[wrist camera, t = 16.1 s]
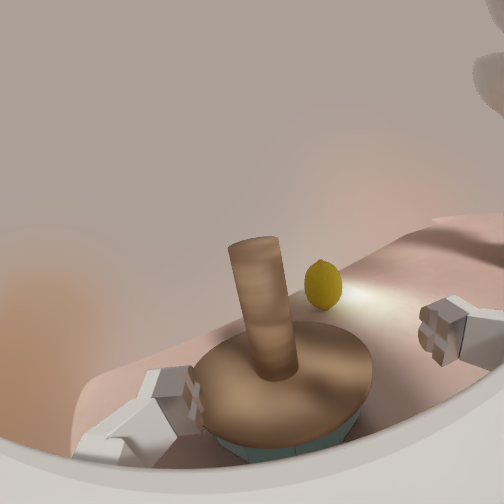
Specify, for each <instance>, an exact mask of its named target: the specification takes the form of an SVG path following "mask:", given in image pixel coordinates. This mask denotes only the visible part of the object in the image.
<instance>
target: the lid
mask: <svg viewBox="0 0 504 504" xmlns="http://www.w3.org/2000/svg"><path fill="white" fill-rule="evenodd" d="M228 252H229V256H230V261H231V265H232V270H233V274H234V278H235V283H236V287H237V292H238V296H239V300H240V304H241V309H242V313H243V317H244V322H245V326H246V330H247V331H246V332H243V333H241V334H238V335H236V336H234V337H231V338H229V339H228V340H226V341H224V342H222V343H220V344H219V345H217V346H216V347H214V348H213V349H211V350H210V351H209V352H208V353H207V354H205V355H204V356H203V357H202V358H201V359H200V360H199V362H198V363H197V364H196V365H195V367H194V368H193V369H194V371H195V373H196V379H195V382H197V383H198V384H200V385H201V388H202V391H203V394H204V400H205V409H204V411H203V412H202V413H201V416H202V418H203V427H204V428H205V429H207V430H208V431H209V432H211V433H212V434H213V435H215V436H217V437H219V438H220V439H222V440H225V441H227V442H230V443H232V444H235V445H240V446H244V447H249V448H258V449H279V448H286V447H292V446H297V445H301V444H305V443H308V442H311V441H314V440H316V439H319V438H321V437H323V436H325V435H327V434H329V433H331V432H332V431H334V430H336V429H338V428H339V427H340V426H342V425H343V424H344V423H346V422H347V421H348V420H349V419H350V418H351V417H352V416H353V415H354V414H355V413H356V412H357V411H358V410H359V409H360V407H361V406H362V404H363V403H364V402H365V400H366V398H367V396H368V394H369V391H370V387H371V384H372V371H373V365H372V358H371V355H370V353H369V351H368V349H367V347H366V346H365V345H364V343H363V342H362V341H361V340H360V339H358V338H357V337H356V336H355V335H353V334H351V333H350V332H348V331H346V330H343V329H341V328H338V327H335V326H332V325H327V324H322V323H314V322H292V317H291V311H290V305H289V299H288V292H287V286H286V280H285V274H284V269H283V263H282V257H281V252H280V246H279V240H278V238H277V237H272V236H266V237H257V238H251V239H247V240H243V241H240V242H237V243H234V244H232V245H231V246H229V247H228Z"/></svg>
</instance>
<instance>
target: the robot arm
mask: <svg viewBox="0 0 504 504" xmlns="http://www.w3.org/2000/svg"><path fill="white" fill-rule="evenodd" d="M486 3H487V6H488V9H489V11H490V14H491V17H492V19H493V21H494V22H495V24H496V25H497V26H498V28H499V29H500V30H501V31H502V32H504V0H486ZM473 80H474V84H475V87H476V90H477V92H478V93H479V95H480V97H481V98H482V100H483V101H484V102H485V103H486V104H487V105H488V106H489V107H490V108H492V109H493V110H495V111H496V112H497V113H499V114H500V115H501V116H502V117H503V118H504V53H492V54H489V55H485V56H482V57H479V58H477V59H476V60H475V62H474V66H473ZM419 318H420V320H421V321H422V323H421V325H420V327H419V330H418V338H419V342H420V344H421V346H422V348H423V349H424V350H425V351H427V352H431V353H432V358H433V359H434V360H435V361H436V362H437V363H438V364H439V365H440V366H441V367H443V366H445V365H447V364H449V363H451V362H453V361H455V360H457V359H459V360H461V361H464V362H467V363H469V364H472V365H475V366H478V367H481V368H483V369H486V370H489V371H491V372H490V373H488V374H487V375H486V376H484V377H483V378H481V379H480V380H478V381H477V382H475V383H473V384H472V385H470V386H469V387H467V388H465V389H464V390H462V391H461V392H459V393H457V394H455V395H454V396H452V397H450V398H448V399H447V400H445V401H443V402H441V403H439V404H437V405H435V406H434V407H432V408H430V409H428V410H426V411H424V412H422V413H420V414H417V415H415V416H413V417H411V418H409V419H407V420H404V421H402V422H400V423H398V424H395V425H393V426H390V427H388V428H386V429H383V430H381V431H378V432H375V433H373V434H370V435H367V436H364V437H362V438H359V439H356V440H353V441H350V442H346V443H343V444H340V445H337V446H333V447H330V448H326V449H323V450H319V451H315V452H311V453H307V454H302V455H298V456H293V457H289V458H284V459H278V460H273V461H267V462H261V463H254V464H246V465H238V466H228V467H216V468H197V469H158V468H152V467H153V466H154V465H155V463H156V462H157V461H158V460H159V459H160V458H161V456H162V455H163V454H164V453H165V452H166V451H167V449H168V448H169V447H170V446H171V445H172V443H173V442H174V441H175V440H176V439H177V436H185V435H197V434H202V428H203V418H202V416H201V413H202V412H203V411H204V409H205V400H204V394H203V391H202V388H201V385H200V384H198V383H197V382H195V379H196V373H195V371H194V369H193V367H192V366H191V365H188V366H179V367H168V368H158V369H150V370H148V371H147V373H146V375H145V378H144V380H143V383H142V385H141V387H140V390H139V392H138V395H137V397H136V399H131V400H130V401H129V402H127V403H126V404H125V405H123V406H122V407H121V408H119V409H118V410H116V411H115V412H114V413H112V414H111V415H110V416H108V417H107V418H105V419H104V420H103V421H101V422H100V423H98V424H97V425H96V426H94V427H93V428H91V429H90V430H89V431H87V432H86V433H84V434H83V436H82V438H81V440H80V442H79V444H78V446H77V448H76V450H75V452H74V454H73V457H72V458H69V457H65V456H61V455H56V454H52V453H49V452H45V451H41V450H37V449H34V448H31V447H28V446H25V445H22V444H19V443H16V442H13V441H11V440H8V439H6V438H3V437H0V504H504V311H501V310H492V309H484V308H481V309H478V308H476V307H474V306H473V305H471V304H469V303H468V302H466V301H464V300H463V299H461V298H459V297H458V296H456V295H449V296H447V297H445V298H443V299H441V300H439V301H437V302H434V303H432V304H429V305H427V306H424V307H422V308H421V311H420V317H419Z"/></svg>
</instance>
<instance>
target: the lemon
mask: <svg viewBox="0 0 504 504" xmlns="http://www.w3.org/2000/svg"><path fill="white" fill-rule="evenodd" d="M305 293H306V296H307V298H308V300H309V302H310V303H311V304H312V305H314V306H315V307H317V308H321V309H323V310H325V311H326V310H328V309H329V308H330V307H332V306H334V305H335V304H336V303H337V302H338V300H339V299H340V297H341V293H342V281H341V277H340V274H339V272H338V270H337V269H336V267H335V266H334V265H332V264H331V263H329V262H325V261H323V260H318V261H317V262H316V263H315V264H313V265H312V266H310V268H309V269H308V270H307V272H306V275H305Z"/></svg>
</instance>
